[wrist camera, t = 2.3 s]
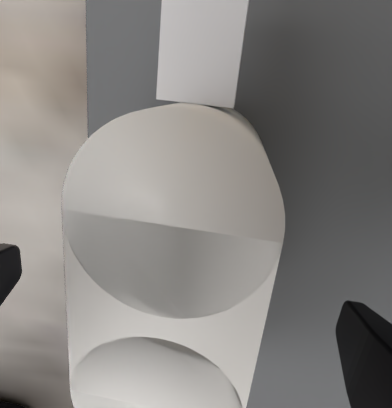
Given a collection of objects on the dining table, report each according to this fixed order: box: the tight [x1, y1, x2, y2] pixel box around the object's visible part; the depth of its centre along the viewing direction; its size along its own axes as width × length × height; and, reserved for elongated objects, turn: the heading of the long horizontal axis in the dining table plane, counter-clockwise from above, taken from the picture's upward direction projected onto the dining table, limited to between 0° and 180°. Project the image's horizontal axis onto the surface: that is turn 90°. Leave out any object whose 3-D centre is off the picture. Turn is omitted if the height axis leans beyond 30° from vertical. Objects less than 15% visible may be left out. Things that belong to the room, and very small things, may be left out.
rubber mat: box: [86, 0, 392, 408], centre depth 11 cm, size 24×20×1 cm
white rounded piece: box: [61, 0, 285, 408], centre depth 9 cm, size 12×4×5 cm, turn 174°
